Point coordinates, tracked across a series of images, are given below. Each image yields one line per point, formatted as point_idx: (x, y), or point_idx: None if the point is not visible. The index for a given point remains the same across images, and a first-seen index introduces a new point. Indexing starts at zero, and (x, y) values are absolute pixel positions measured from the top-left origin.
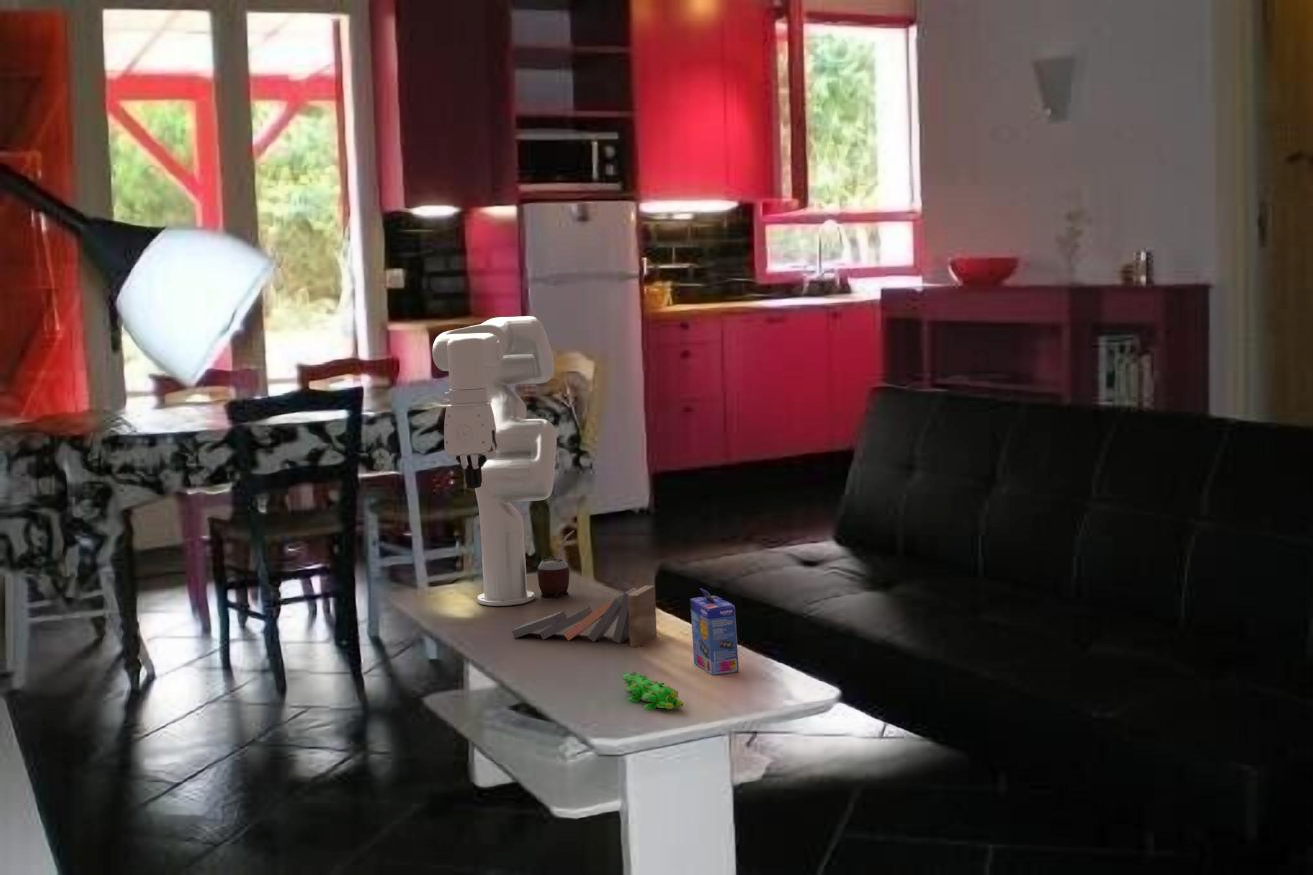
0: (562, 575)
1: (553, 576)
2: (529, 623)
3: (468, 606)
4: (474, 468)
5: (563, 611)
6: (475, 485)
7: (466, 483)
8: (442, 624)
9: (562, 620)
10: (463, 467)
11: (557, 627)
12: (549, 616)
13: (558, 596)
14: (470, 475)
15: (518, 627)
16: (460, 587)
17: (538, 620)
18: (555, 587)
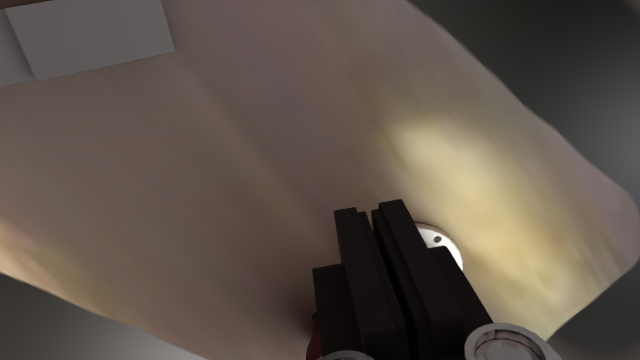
0: (308, 355)
1: (320, 342)
2: (128, 29)
3: (453, 208)
4: (350, 356)
5: (35, 75)
6: (339, 244)
7: (437, 246)
8: (420, 48)
9: (12, 35)
10: (519, 340)
11: None
12: (58, 41)
13: (313, 317)
14: (386, 276)
15: (160, 18)
16: (548, 318)
17: (93, 29)
18: (318, 328)
